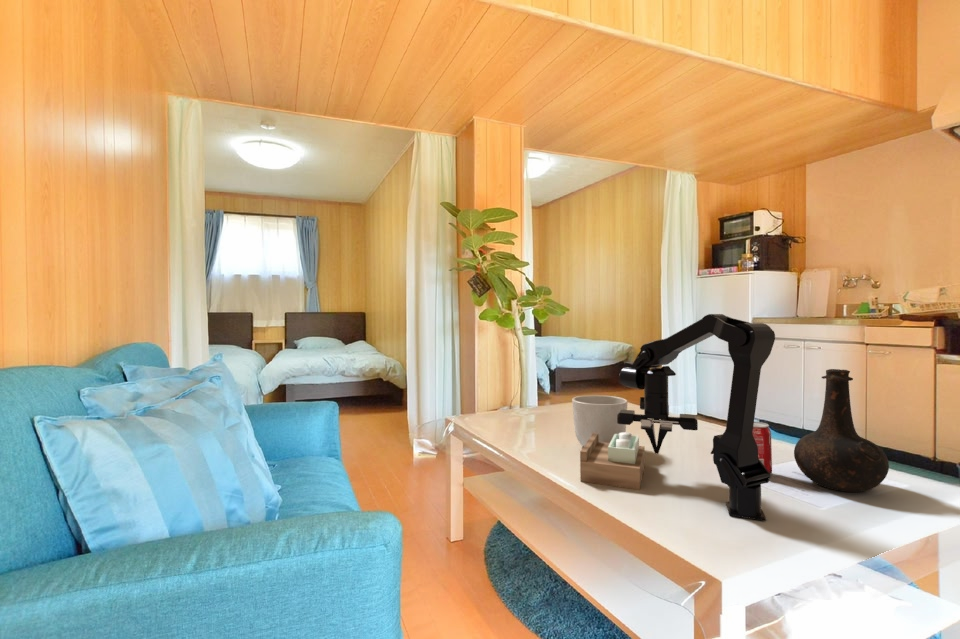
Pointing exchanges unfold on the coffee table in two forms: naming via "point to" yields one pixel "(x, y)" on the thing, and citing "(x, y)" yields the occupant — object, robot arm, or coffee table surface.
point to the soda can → (763, 444)
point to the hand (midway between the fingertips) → (656, 453)
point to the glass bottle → (840, 445)
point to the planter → (597, 417)
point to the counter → (609, 466)
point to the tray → (623, 448)
